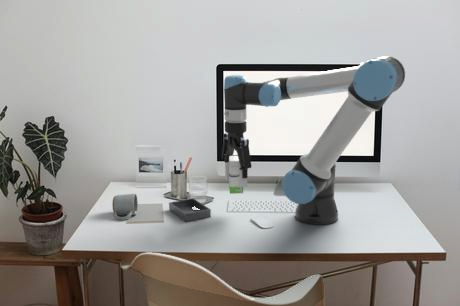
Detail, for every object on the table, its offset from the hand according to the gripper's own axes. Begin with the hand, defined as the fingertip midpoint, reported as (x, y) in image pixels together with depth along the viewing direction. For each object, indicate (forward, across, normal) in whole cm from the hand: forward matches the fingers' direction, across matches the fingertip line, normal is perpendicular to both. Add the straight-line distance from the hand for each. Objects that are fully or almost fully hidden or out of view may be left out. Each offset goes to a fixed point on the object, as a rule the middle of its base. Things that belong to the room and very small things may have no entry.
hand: (236, 183), depth 201 cm
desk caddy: (+12, -11, -13) cm, 21 cm away
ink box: (+3, 0, 0) cm, 3 cm away
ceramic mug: (+12, -21, -34) cm, 42 cm away
